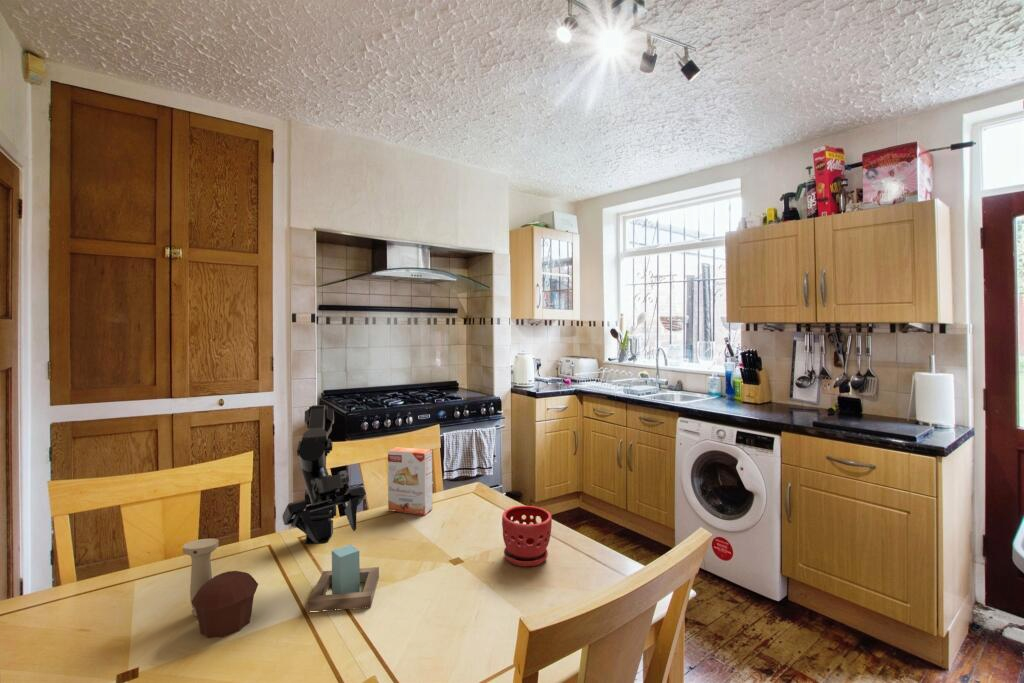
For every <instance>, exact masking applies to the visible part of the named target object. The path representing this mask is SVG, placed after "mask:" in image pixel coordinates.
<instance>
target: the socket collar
mask: <svg viewBox="0 0 1024 683" xmlns="http://www.w3.org/2000/svg"><path fill="white" fill-rule="evenodd" d="M379 578H380V567H379V566H375V567H362V568H361V567H360V582H364V583H365V584H364V587H363V590H362V591H360V592H356V593H344V594H327V593H328V591H327V590H329V589H330V587H331V586H332V570H324V571H322V573H321V575H320V577H319V579H318V581H317V583H316V585H315V587H314V589H313V590H312V592H311V594H310V596H309V598H308V600H307V613H308V612H310V611H323V610H335V609H336V610H337V609H349V610H354V609H353V608H360V609H369V607H372V605H373V600H374V597H375V593H376V590H377V586H378V582H379ZM329 586H330V587H329ZM328 588H329V589H328ZM326 592H327V593H326ZM365 607H366V608H365ZM367 607H368V608H367Z"/></svg>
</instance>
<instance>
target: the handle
mask: <svg viewBox="0 0 1024 683" xmlns="http://www.w3.org/2000/svg"><path fill="white" fill-rule="evenodd" d="M219 542H220V541H219V539H218V538H202V539H201V538H200V539H196V540H190V541H188V542H187V543H185V544H183V545H182V553H183V554H184V555H187V556H190V558H191V568H190V569H191V570H190V571H191V572H190V585H189V590H190V591H189V592H190V593H189V596H190V597H189V598H190V604H191V609H192V610H191V613H192V616H193V617H196V618H197V613H196V609H195V608H194V606H193V604H192V603H191V602H192V600H193V598H194V597H195V595H196V593H197V592H198V590H199V589H200V588H201V586H202V585H203V584H205V583H206V582H207V581H209V580H210V579H212V578H213V575H212V563H211V562H212V560H211V554H212V553H213V552H214V551H215V550H217V548H218V547H219V545H220V544H219Z"/></svg>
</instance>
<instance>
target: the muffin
mask: <svg viewBox="0 0 1024 683" xmlns="http://www.w3.org/2000/svg"><path fill="white" fill-rule="evenodd" d="M258 586H259V582H257V580H256V579H255V578H254V577H253V576H252V575H251V574H250V573H248V572H246V571H241V570H229V571H226V572H222V573H219V574H217V575H215V576H212V579H210V580H209V581H207V582H206V583H205V584H203V585H202V586H201V588H200V589H199V590H198V592H197V593H196V595H195V597H194V598H193V600H192V602H191V601H190V604H191V603H192V604H193V606H194V608H195V609H196V613H197V617H196V618H197V622H198V627H199V631H200V635H203V636H205V637H206V639H213V638H225V637H227V636H229V635H232V634H235V633H238V632H240V631H241V630H242V629H244V627H246V626H248V625H249V624H250V623H251V617H252V611H253V604H254V597H255V594H256V592H257V590H258Z"/></svg>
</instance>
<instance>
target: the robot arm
mask: <svg viewBox="0 0 1024 683" xmlns="http://www.w3.org/2000/svg"><path fill="white" fill-rule="evenodd" d="M334 424H335V413H334V409H332V408H329V407H328V405H325V404H320V405H317V404H316V405H311V406H309V408H308V409H306V410H305V411H304V426H306V428H307V431H304V432H303V433H302V436H301V440H299V441H298V445H297V448H296V454H297V457H299V463H300V471H301V474H302V477H303V480H304V483H305V487H306V490H305V493H304V499H301V500H298V501H297V500H296V501H293V502H290V503H288V504H287V505H286V507H285V509H284V512H283V513H282V521H283V524H284V526H289V525H290V526H291V528H292V527H295V528H297V529H299V531H301V532H303V533H304V534H305V537H306V538H305V540H304V542H303V543H304V544H319V543H327V542H329V541H330V539H331V538H332V536H333V535H334V520H333V519H335V518H334V517H336V516H337V506H338V505H342V506H343V507H344V508H345V509H344V513H345V516H346V518H347V521H348V524H349V525H350V528H351V530H352V531H353V532H356V531H357V509H358V506H359V505H361V503H362V501H363V499H364V498H365V496H366V495H367V492H366V489H365V487H363V486H362V485H358V486H353V487H350V488H349V487H348V488H347V489H346V491H345V493H344V494H343V495H339V493H340V492H341V491H340V489H342V488H344V485H346V484H348V483H350V477H349V473H348V471H347V470H346V469H345V470H341V471H339V472H337V473H336V474H335V475H332V474H329V472H328V470H327V456H328V455H329V454H330V453H331V452H332V451H333V447H334V446H333V442H332V440H331V438H328V437H329V436H330V433H332V430H333V428H332V427H333V425H334ZM337 495H339V496H337Z"/></svg>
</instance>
